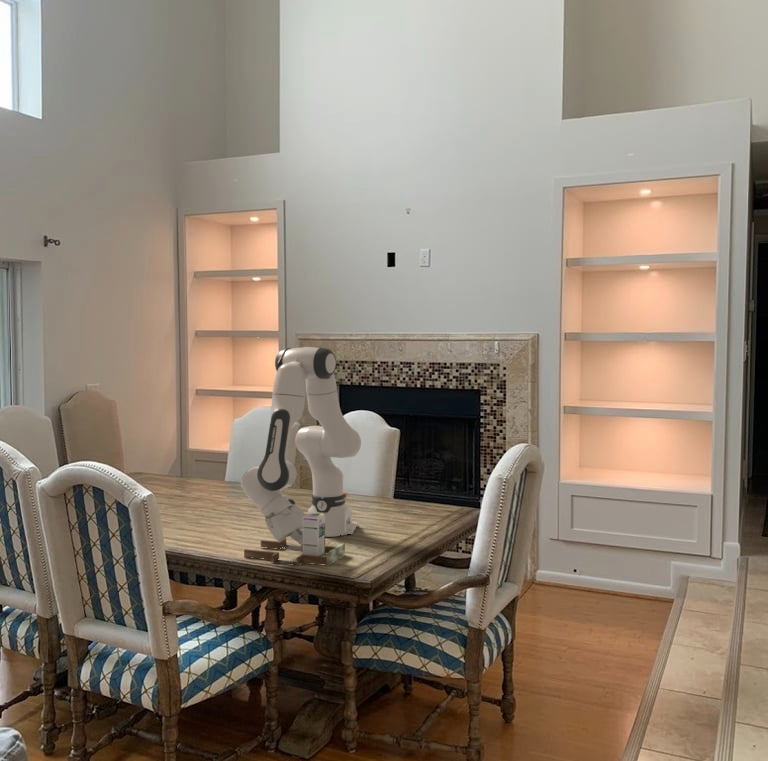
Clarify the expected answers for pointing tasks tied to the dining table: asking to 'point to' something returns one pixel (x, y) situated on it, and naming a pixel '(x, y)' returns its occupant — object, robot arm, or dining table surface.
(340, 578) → the dining table surface
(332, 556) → the trap lane
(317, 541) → the syrup box
